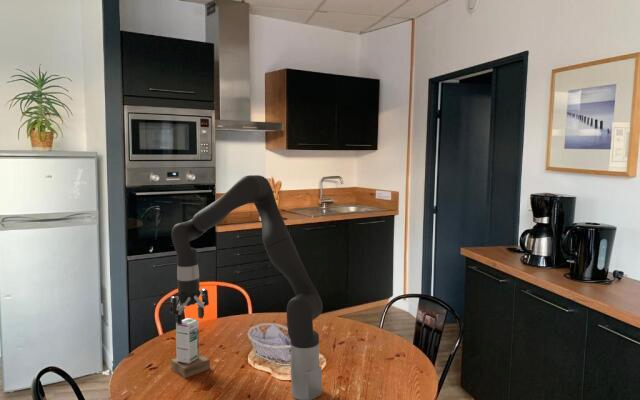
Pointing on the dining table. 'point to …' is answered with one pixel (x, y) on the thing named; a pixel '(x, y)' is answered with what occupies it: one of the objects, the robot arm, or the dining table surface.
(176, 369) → the walnut base block
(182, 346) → the syrup box
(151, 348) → the dining table surface
